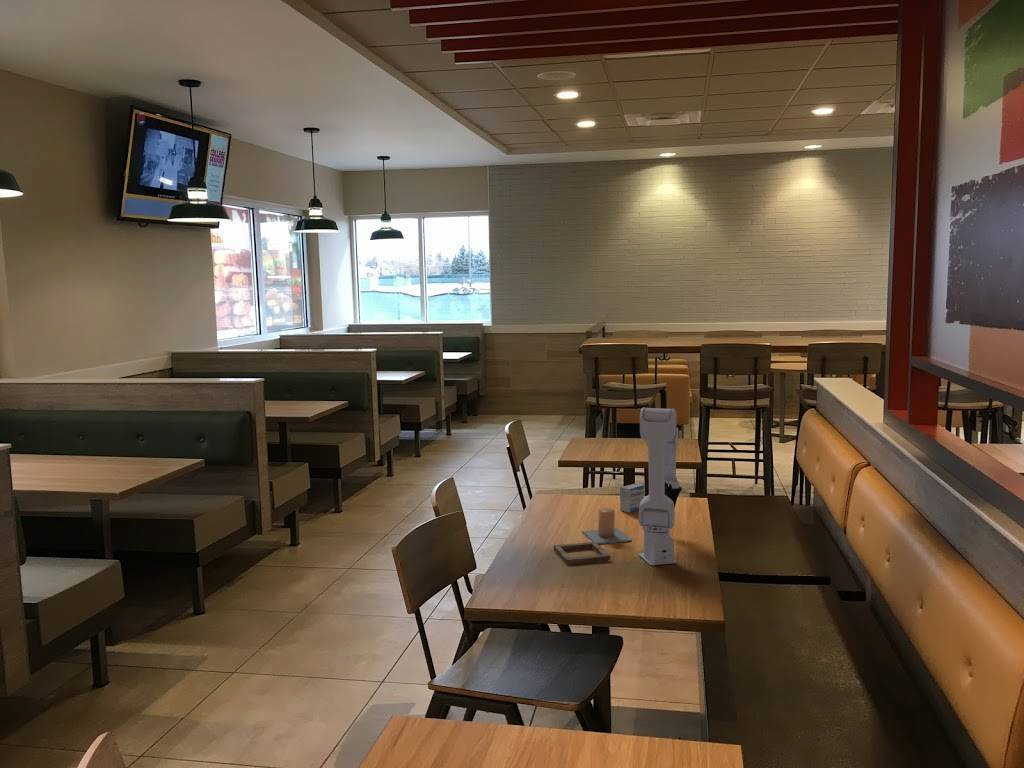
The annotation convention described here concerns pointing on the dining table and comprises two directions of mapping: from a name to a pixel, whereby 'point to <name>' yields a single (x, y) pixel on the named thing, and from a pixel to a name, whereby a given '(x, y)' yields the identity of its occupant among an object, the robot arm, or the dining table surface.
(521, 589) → the dining table surface
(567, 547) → the frame
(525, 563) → the dining table surface
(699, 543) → the dining table surface
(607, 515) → the terracotta cylinder
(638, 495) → the medicine box
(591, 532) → the rubber mat
